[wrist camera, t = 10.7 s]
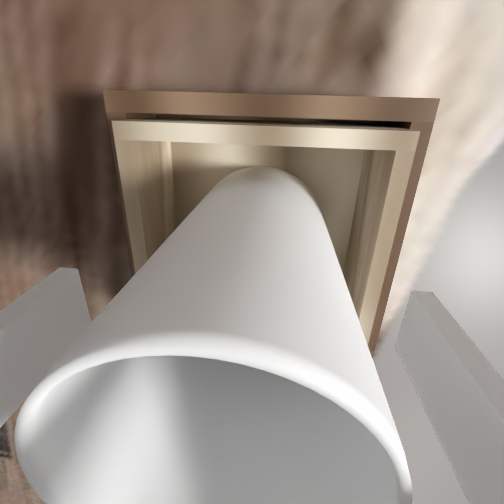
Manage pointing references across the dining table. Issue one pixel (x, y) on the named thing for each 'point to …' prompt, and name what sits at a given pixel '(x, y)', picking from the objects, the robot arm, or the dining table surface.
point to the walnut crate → (288, 109)
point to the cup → (221, 372)
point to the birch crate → (277, 156)
